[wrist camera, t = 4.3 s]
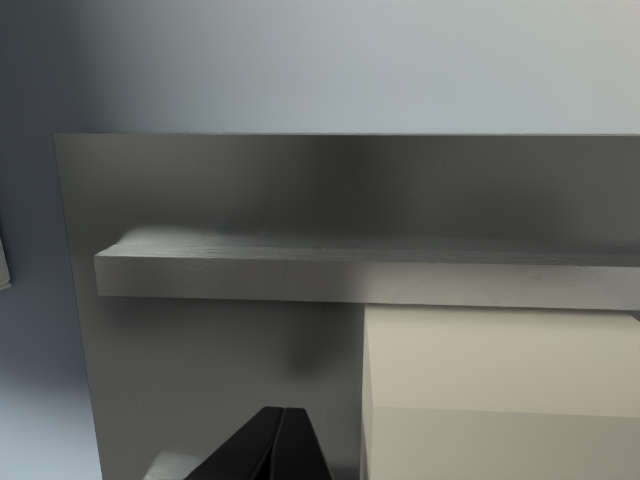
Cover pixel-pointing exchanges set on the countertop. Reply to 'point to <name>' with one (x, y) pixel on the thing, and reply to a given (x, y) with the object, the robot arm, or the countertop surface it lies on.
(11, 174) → the countertop surface
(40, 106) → the countertop surface
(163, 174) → the panel
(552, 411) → the breaker
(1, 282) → the syrup box
